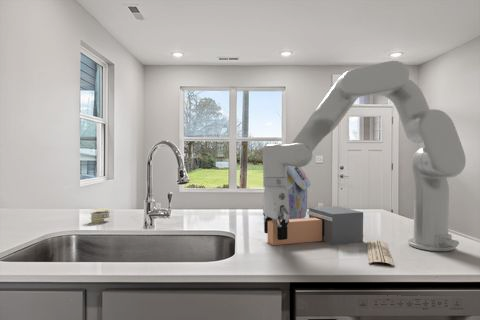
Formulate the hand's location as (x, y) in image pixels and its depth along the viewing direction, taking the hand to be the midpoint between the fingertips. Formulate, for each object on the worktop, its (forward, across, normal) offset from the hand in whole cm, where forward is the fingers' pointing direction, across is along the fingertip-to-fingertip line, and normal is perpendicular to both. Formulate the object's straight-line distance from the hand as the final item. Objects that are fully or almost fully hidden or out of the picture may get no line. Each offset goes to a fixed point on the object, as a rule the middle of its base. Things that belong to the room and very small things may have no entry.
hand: (275, 236), depth 111 cm
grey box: (+3, 0, -23) cm, 23 cm away
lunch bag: (+3, +32, -22) cm, 39 cm away
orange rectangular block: (+3, 0, -7) cm, 8 cm away
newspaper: (+4, -20, -24) cm, 32 cm away
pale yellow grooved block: (+2, +57, +54) cm, 78 cm away
